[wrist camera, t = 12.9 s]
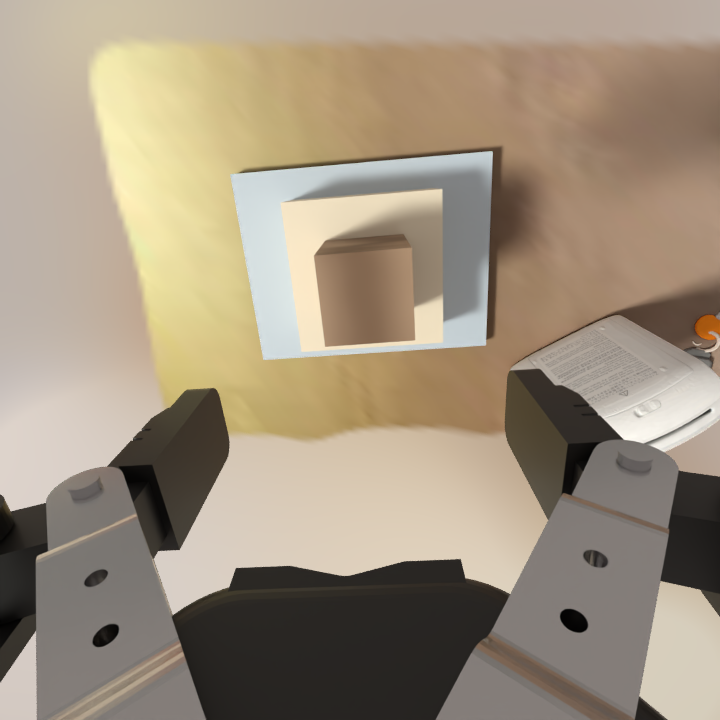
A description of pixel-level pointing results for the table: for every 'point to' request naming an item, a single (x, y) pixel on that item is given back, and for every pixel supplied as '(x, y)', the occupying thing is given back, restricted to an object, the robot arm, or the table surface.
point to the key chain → (706, 337)
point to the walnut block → (366, 290)
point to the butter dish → (368, 219)
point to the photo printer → (634, 381)
